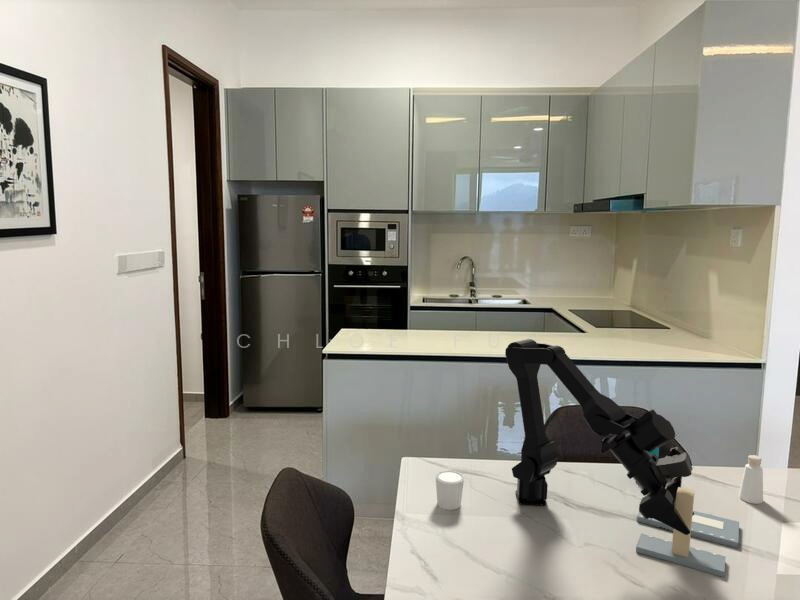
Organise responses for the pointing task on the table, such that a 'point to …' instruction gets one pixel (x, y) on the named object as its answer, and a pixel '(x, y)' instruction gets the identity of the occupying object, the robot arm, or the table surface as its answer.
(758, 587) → the table surface
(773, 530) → the table surface
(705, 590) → the table surface
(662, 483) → the robot arm
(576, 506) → the table surface
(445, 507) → the shot glass
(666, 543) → the grey slab with post
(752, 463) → the pepper shaker
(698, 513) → the board
